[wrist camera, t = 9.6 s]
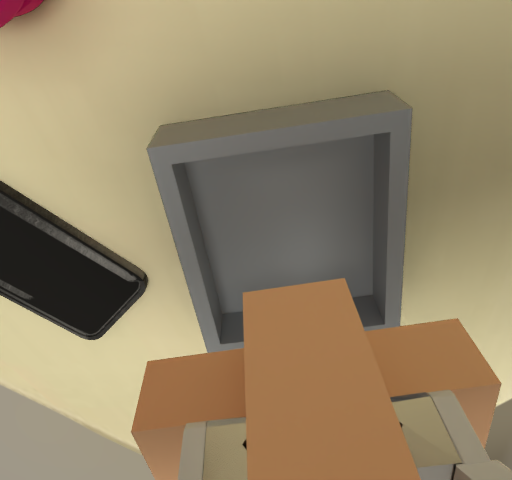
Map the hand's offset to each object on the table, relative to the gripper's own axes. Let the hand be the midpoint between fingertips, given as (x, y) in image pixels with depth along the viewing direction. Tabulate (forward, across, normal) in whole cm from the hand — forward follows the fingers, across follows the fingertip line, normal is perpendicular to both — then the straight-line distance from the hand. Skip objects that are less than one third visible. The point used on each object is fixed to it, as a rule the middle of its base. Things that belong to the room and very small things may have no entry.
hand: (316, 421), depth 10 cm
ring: (+4, 0, +5) cm, 6 cm away
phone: (+19, +17, +5) cm, 26 cm away
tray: (+18, -1, +5) cm, 18 cm away
